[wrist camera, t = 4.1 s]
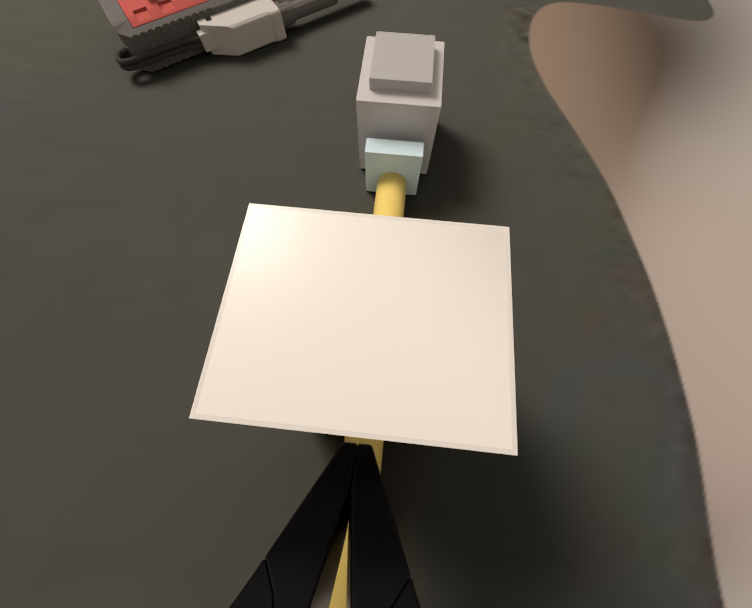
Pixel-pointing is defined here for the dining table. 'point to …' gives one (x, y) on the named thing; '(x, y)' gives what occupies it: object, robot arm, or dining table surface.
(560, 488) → the dining table surface
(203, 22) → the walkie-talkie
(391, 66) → the grey plastic block
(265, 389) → the white lidded box
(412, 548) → the dining table surface
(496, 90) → the dining table surface
